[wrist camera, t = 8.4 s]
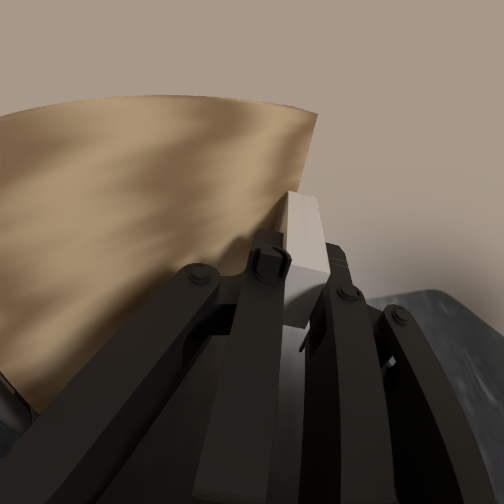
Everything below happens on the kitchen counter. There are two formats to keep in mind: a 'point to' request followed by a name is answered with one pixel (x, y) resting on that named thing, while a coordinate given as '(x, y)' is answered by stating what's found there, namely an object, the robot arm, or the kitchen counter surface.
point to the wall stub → (13, 409)
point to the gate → (127, 214)
